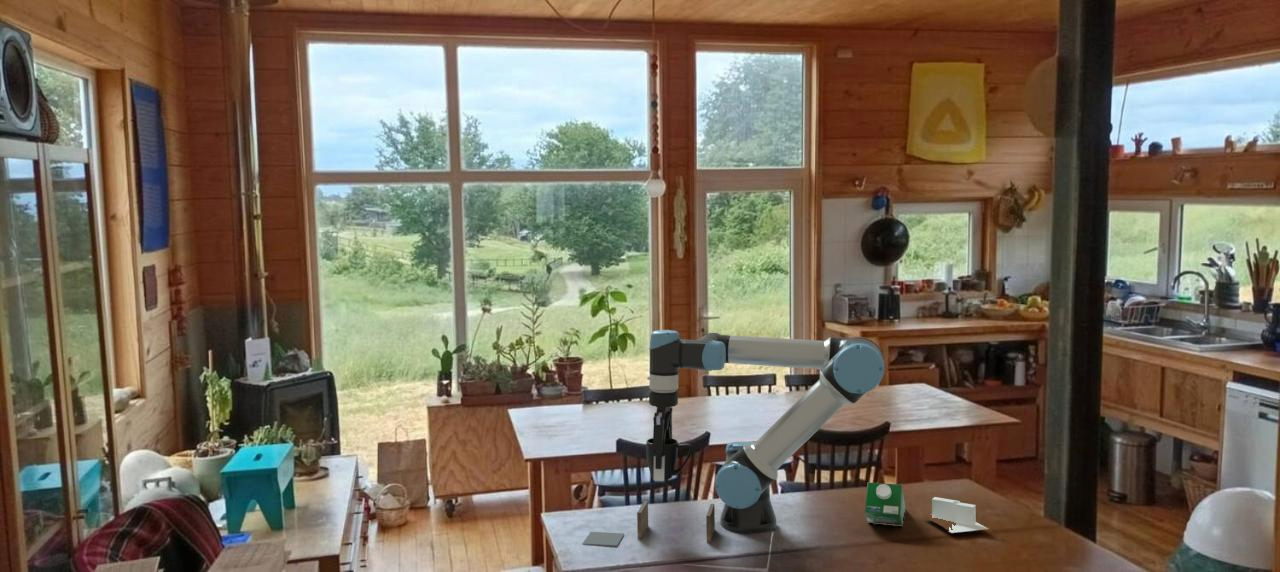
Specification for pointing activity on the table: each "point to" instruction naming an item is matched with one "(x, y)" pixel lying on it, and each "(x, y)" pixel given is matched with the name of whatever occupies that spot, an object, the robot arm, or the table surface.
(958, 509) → the napkin holder
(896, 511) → the milk carton
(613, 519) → the table surface
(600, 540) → the coaster
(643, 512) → the rack
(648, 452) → the mug
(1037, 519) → the table surface
